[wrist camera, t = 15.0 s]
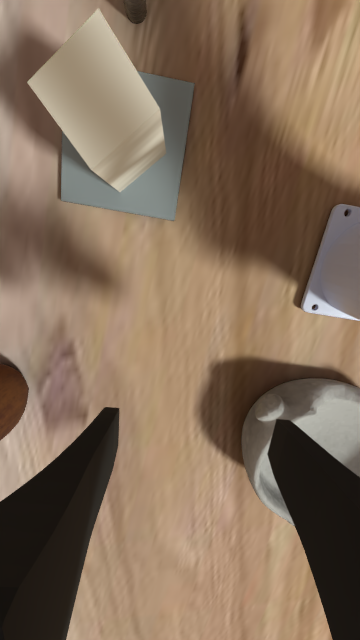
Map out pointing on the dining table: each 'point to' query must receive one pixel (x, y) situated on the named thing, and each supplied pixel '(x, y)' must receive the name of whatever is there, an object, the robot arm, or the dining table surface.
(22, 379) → the wooden figurine
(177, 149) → the mat
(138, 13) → the bent rod
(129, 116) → the ash block
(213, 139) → the dining table surface
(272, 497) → the dish
